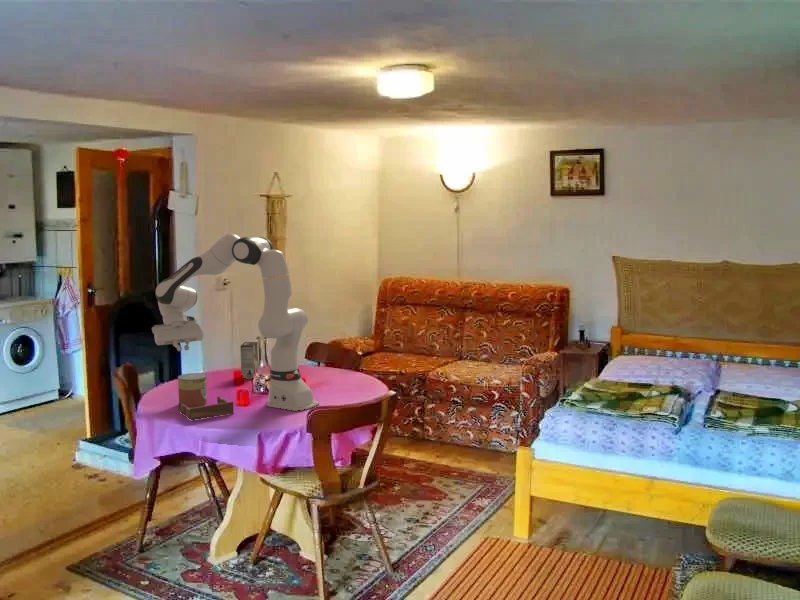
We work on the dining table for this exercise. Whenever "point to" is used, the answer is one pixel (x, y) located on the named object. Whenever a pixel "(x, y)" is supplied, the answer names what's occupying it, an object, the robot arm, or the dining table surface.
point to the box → (207, 409)
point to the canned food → (192, 389)
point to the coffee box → (249, 359)
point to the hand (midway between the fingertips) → (183, 349)
